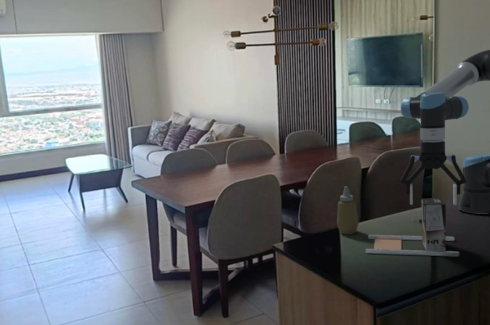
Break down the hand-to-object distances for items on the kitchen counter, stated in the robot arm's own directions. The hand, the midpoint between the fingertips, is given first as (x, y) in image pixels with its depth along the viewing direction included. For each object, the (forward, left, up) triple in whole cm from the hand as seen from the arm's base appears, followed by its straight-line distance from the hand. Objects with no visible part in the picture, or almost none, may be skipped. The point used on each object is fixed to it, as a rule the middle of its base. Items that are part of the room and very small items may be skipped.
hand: (432, 203), depth 166 cm
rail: (+7, 0, -15) cm, 17 cm away
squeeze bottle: (+30, -14, -15) cm, 36 cm away
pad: (+15, 0, -15) cm, 21 cm away
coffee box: (0, 0, -15) cm, 15 cm away
